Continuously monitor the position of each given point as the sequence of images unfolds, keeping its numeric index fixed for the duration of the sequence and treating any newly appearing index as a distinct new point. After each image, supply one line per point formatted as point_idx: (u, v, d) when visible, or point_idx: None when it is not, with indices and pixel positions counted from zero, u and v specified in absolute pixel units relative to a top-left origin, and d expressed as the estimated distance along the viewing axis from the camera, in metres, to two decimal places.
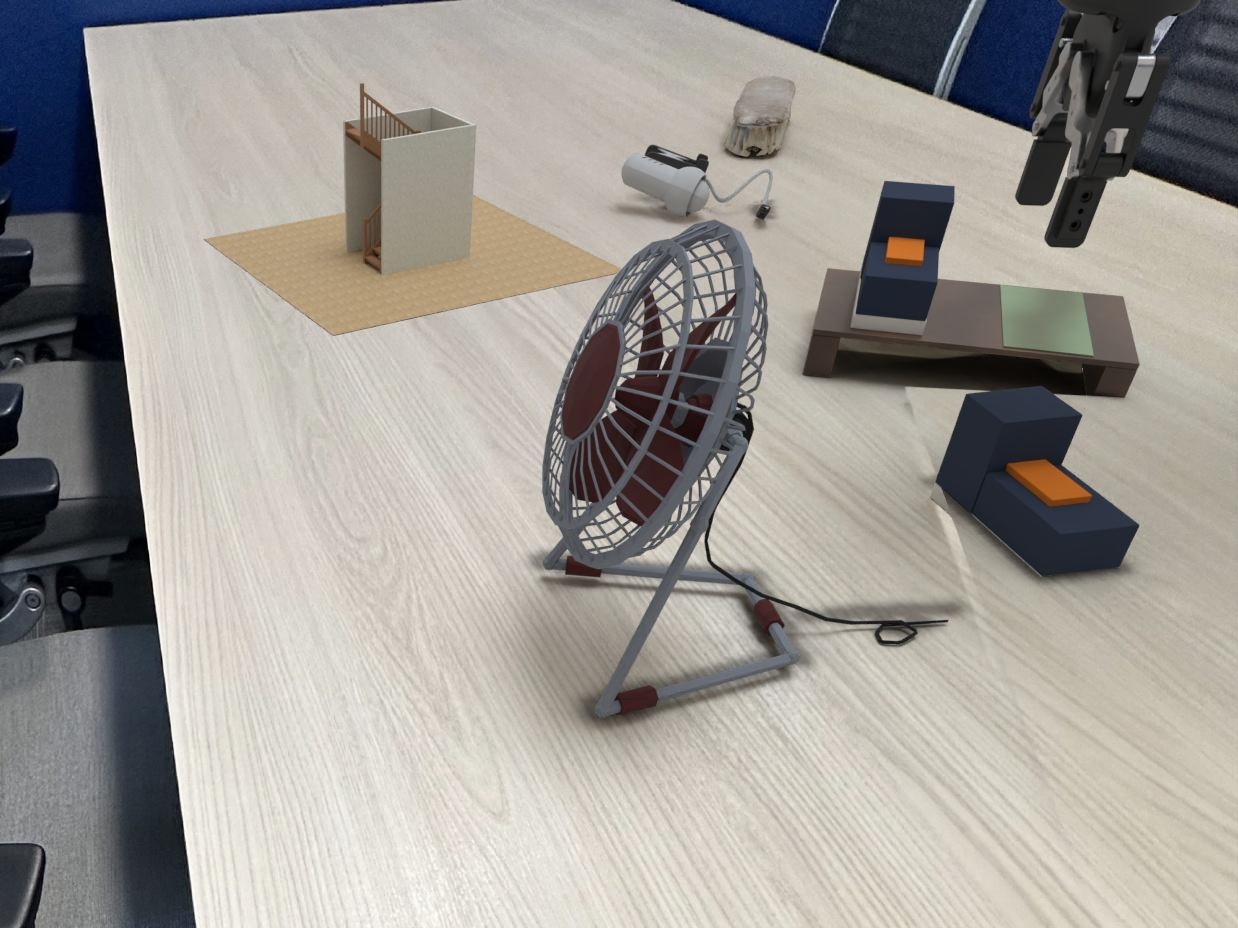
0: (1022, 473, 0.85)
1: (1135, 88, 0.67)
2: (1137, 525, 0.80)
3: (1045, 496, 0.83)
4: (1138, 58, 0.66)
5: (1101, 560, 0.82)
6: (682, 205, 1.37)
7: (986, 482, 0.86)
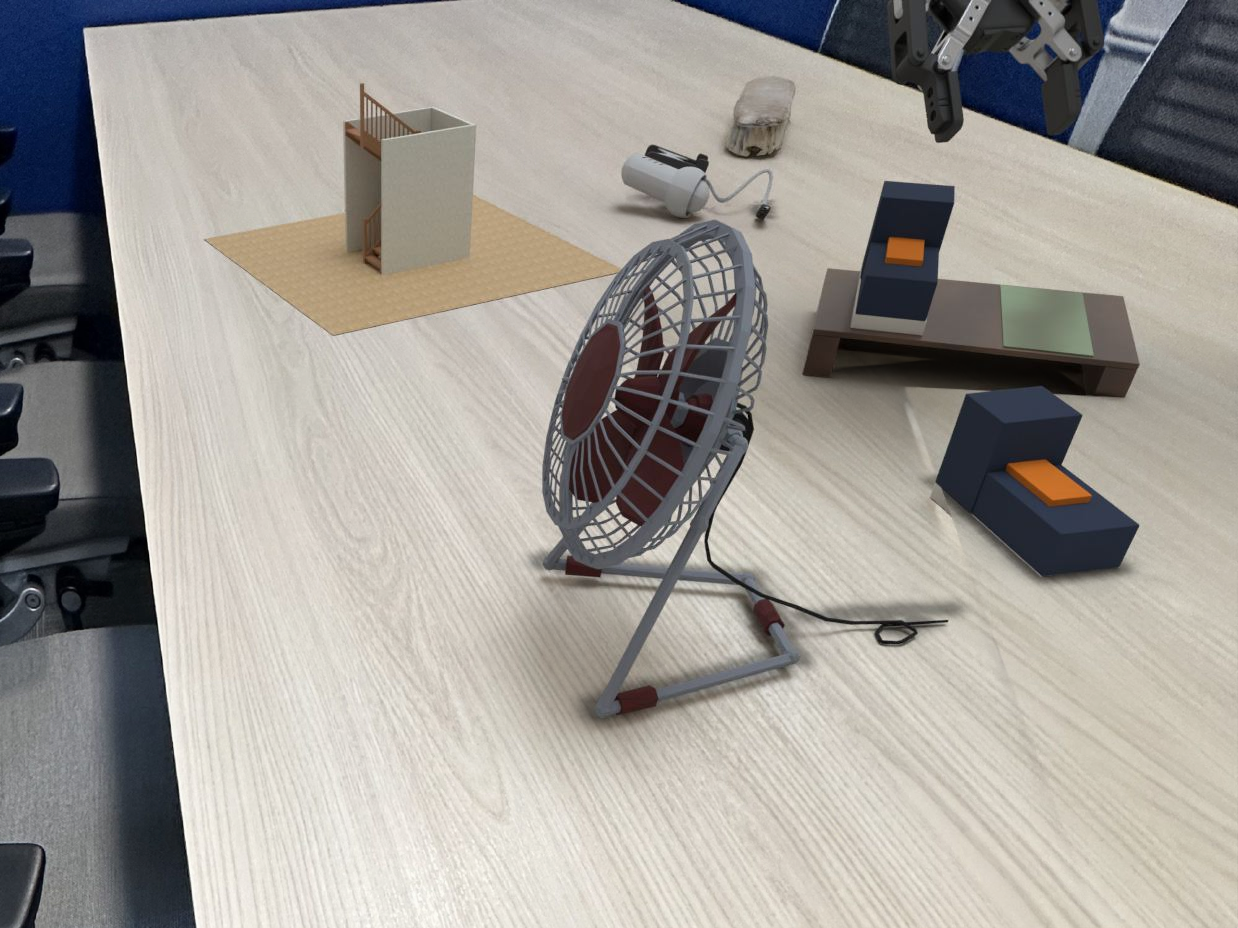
0: (1022, 473, 0.85)
1: (897, 9, 0.83)
2: (1137, 525, 0.80)
3: (1045, 496, 0.83)
4: None
5: (1101, 560, 0.82)
6: (682, 205, 1.37)
7: (986, 482, 0.86)
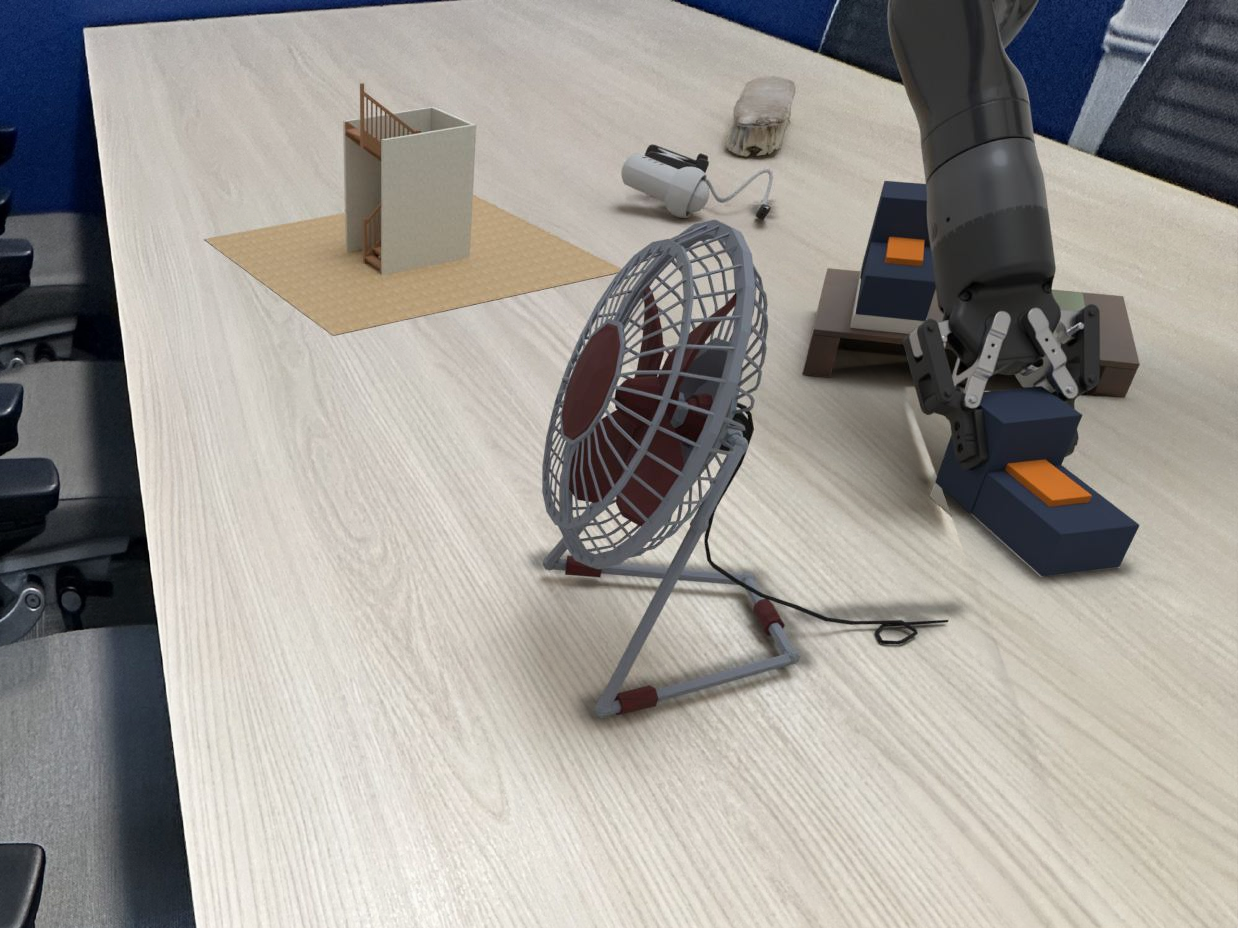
0: (1021, 473, 0.85)
1: (915, 350, 0.86)
2: (1137, 525, 0.80)
3: (1045, 497, 0.83)
4: (910, 333, 0.86)
5: (1101, 560, 0.82)
6: (682, 205, 1.37)
7: (986, 482, 0.86)
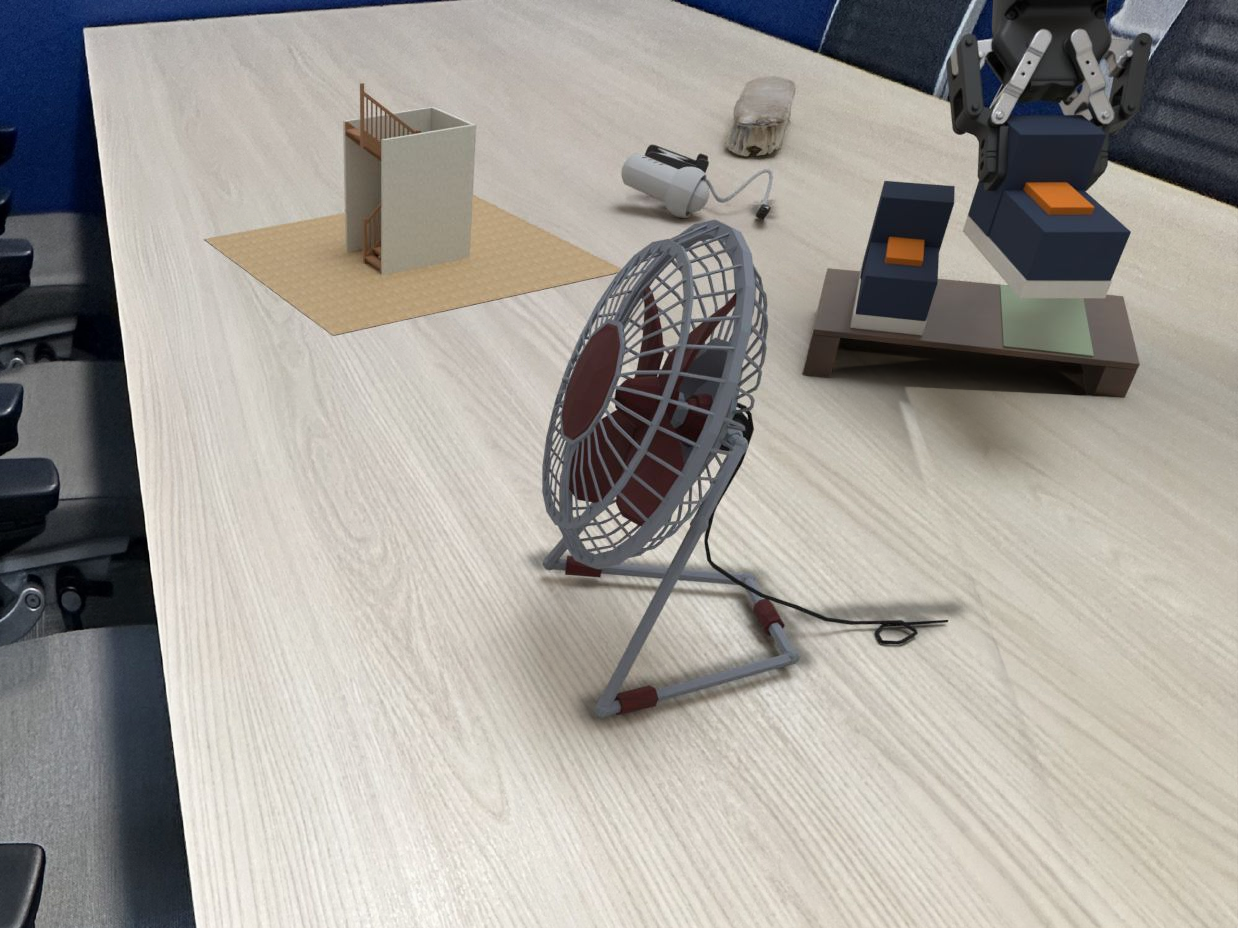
0: (1035, 189, 0.88)
1: (954, 67, 0.90)
2: (1128, 232, 0.83)
3: (1046, 205, 0.86)
4: None
5: (1091, 269, 0.85)
6: (682, 205, 1.37)
7: (1002, 200, 0.89)
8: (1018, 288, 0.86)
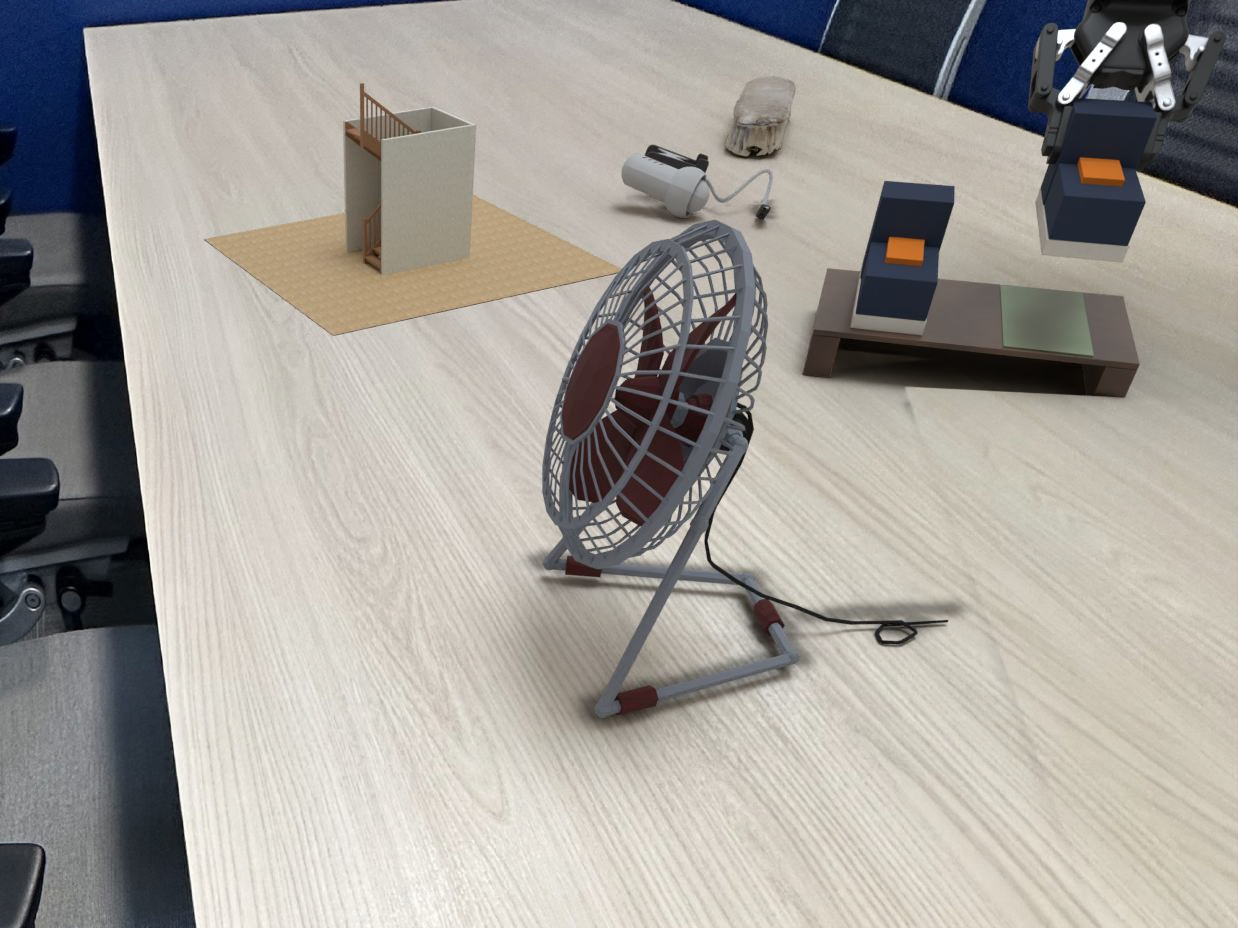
0: (1083, 162, 0.99)
1: (1036, 52, 1.01)
2: (1143, 201, 0.93)
3: (1082, 176, 0.97)
4: None
5: (1108, 234, 0.95)
6: (682, 205, 1.37)
7: (1056, 172, 1.01)
8: (1043, 247, 0.98)
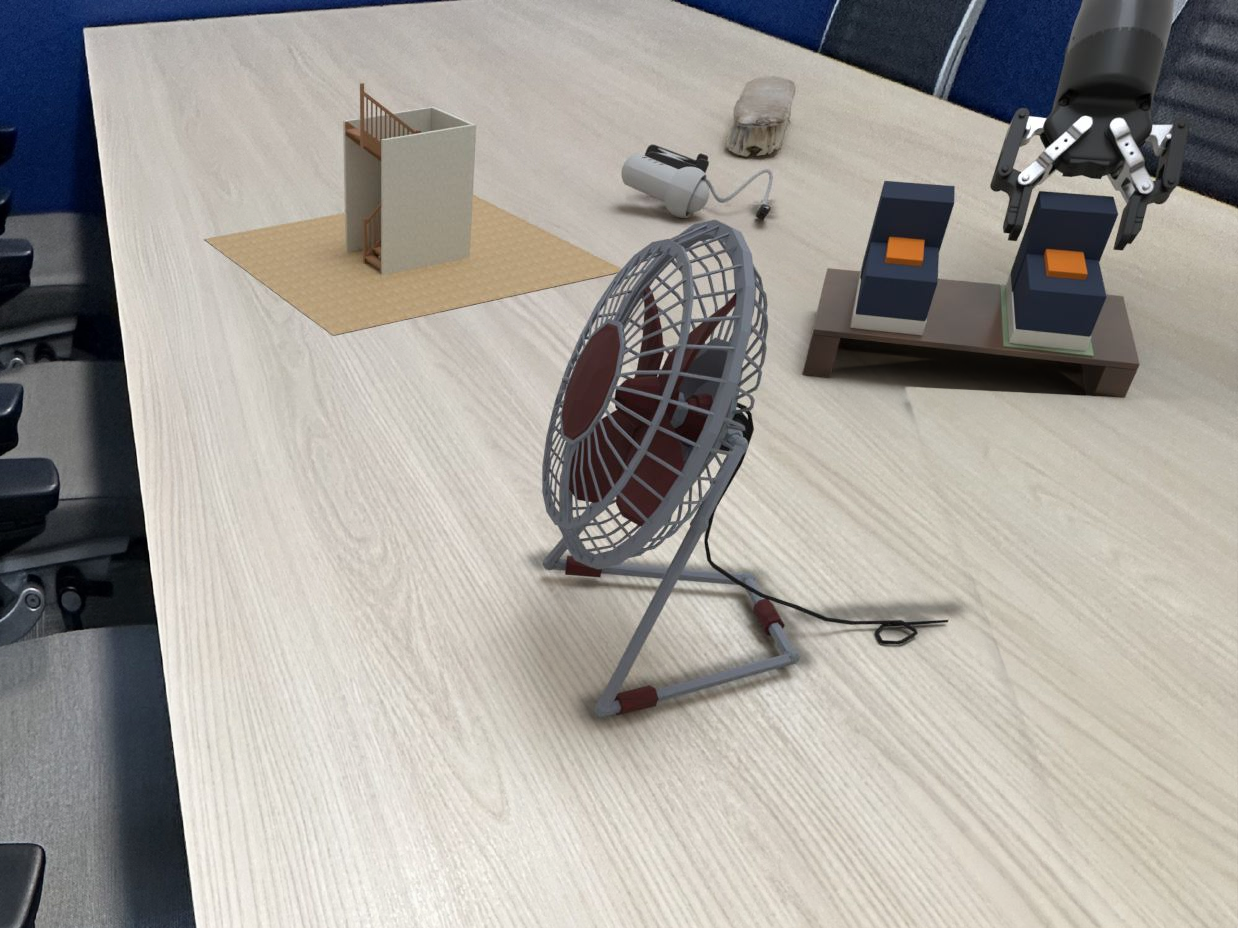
0: (1049, 254, 1.04)
1: (1007, 133, 1.06)
2: (1104, 296, 0.98)
3: (1047, 269, 1.02)
4: None
5: (1072, 325, 1.00)
6: (682, 205, 1.37)
7: (1023, 262, 1.06)
8: (1010, 335, 1.03)
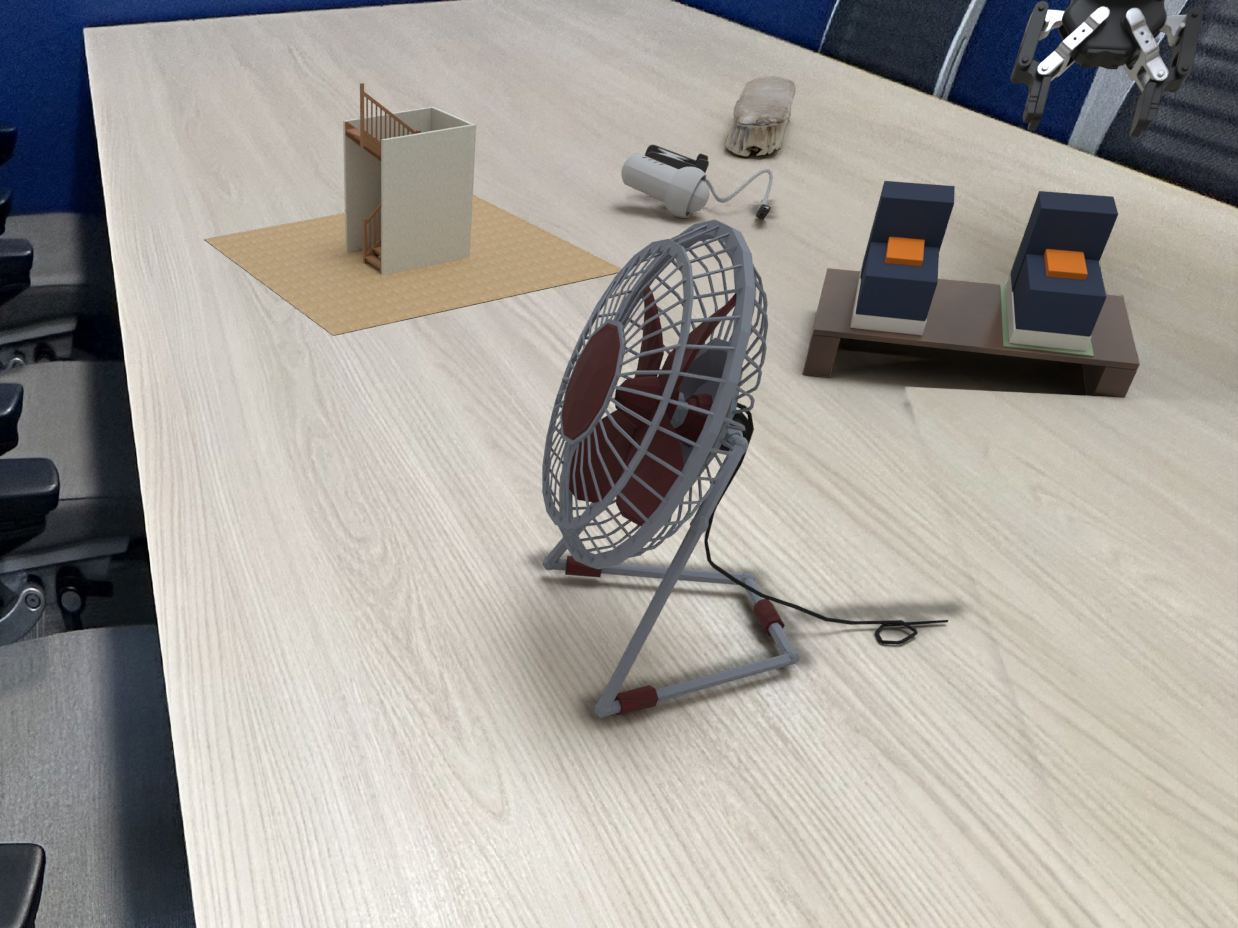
0: (1049, 254, 1.04)
1: (1027, 27, 1.11)
2: (1104, 296, 0.98)
3: (1047, 269, 1.02)
4: None
5: (1072, 325, 1.00)
6: (682, 205, 1.37)
7: (1023, 262, 1.06)
8: (1010, 335, 1.03)
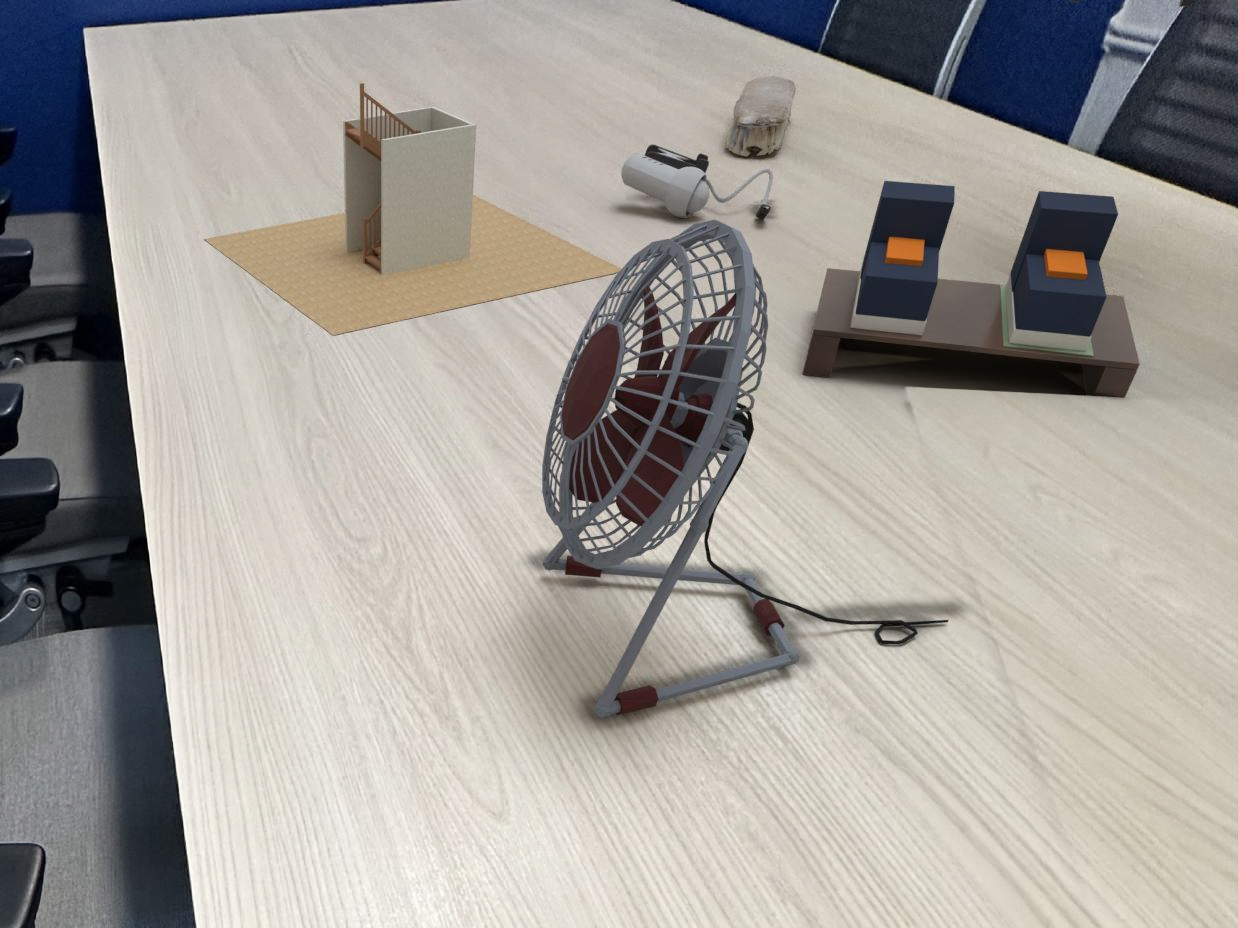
0: (1049, 254, 1.04)
1: None
2: (1104, 296, 0.98)
3: (1047, 269, 1.02)
4: None
5: (1072, 325, 1.00)
6: (682, 205, 1.37)
7: (1023, 262, 1.06)
8: (1010, 335, 1.03)
